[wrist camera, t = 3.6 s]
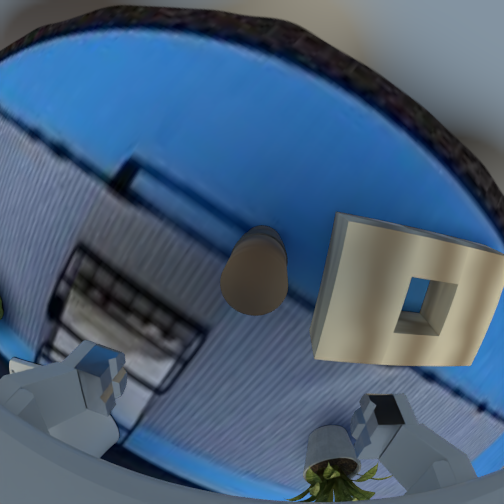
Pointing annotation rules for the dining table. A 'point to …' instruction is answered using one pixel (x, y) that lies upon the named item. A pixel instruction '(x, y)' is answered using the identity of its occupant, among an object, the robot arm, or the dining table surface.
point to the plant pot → (0, 310)
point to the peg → (256, 272)
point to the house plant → (333, 467)
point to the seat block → (403, 295)
